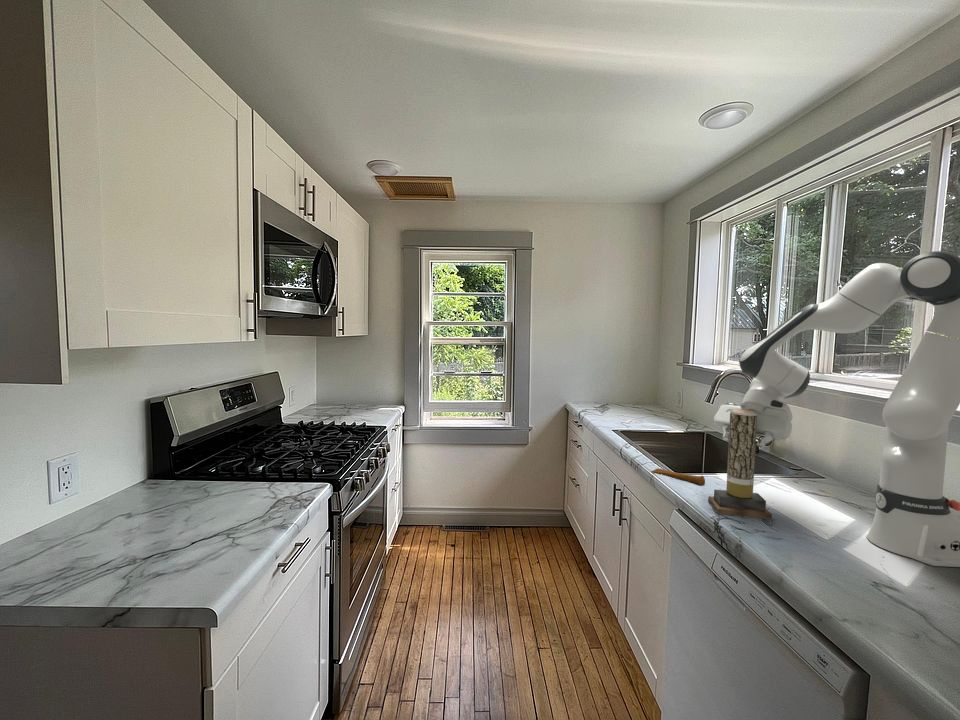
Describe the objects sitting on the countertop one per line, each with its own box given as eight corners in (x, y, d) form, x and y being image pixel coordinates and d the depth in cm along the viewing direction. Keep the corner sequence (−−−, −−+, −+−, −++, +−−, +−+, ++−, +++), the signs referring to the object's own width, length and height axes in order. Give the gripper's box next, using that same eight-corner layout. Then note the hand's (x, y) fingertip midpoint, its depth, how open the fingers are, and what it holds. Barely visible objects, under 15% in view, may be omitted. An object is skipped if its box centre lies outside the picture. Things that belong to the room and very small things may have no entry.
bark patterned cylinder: (730, 497, 125) (734, 413, 124) (723, 489, 132) (727, 409, 131) (756, 500, 124) (761, 414, 123) (747, 492, 130) (752, 410, 129)
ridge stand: (758, 505, 132) (759, 491, 131) (771, 519, 122) (772, 503, 122) (708, 500, 135) (708, 486, 135) (717, 513, 125) (718, 498, 125)
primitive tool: (649, 472, 163) (650, 463, 163) (657, 470, 166) (657, 461, 166) (701, 487, 148) (701, 477, 148) (708, 484, 151) (709, 474, 151)
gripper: (719, 396, 139) (703, 429, 134) (794, 405, 123) (778, 443, 118) (725, 408, 142) (709, 441, 137) (798, 418, 126) (784, 457, 120)
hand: (742, 442), depth 127 cm, fingers open, 8 cm apart
